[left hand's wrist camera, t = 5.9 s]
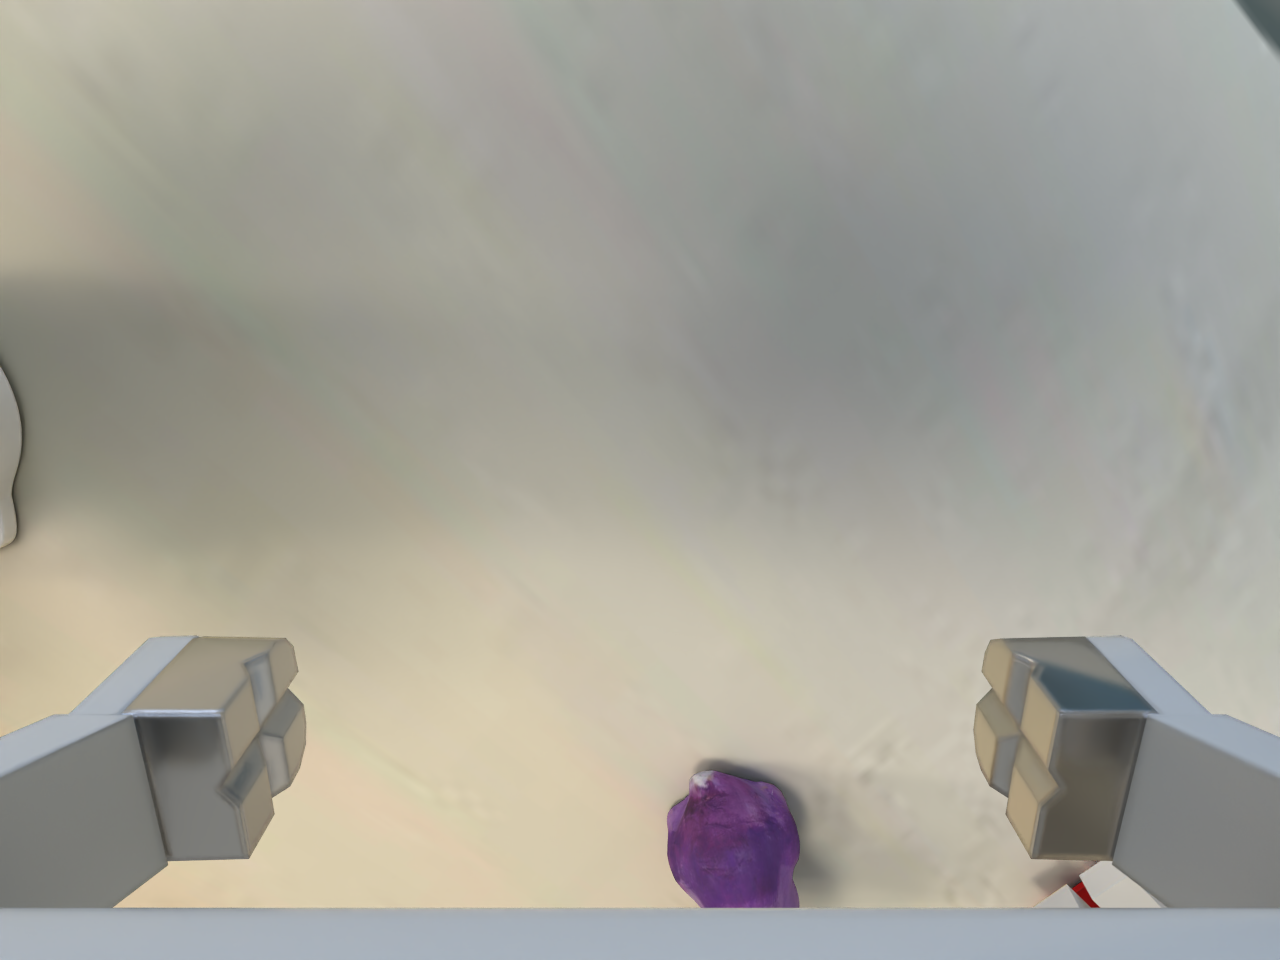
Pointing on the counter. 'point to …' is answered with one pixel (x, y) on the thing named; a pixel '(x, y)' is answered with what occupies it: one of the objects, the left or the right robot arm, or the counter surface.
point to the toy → (1101, 891)
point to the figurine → (734, 843)
